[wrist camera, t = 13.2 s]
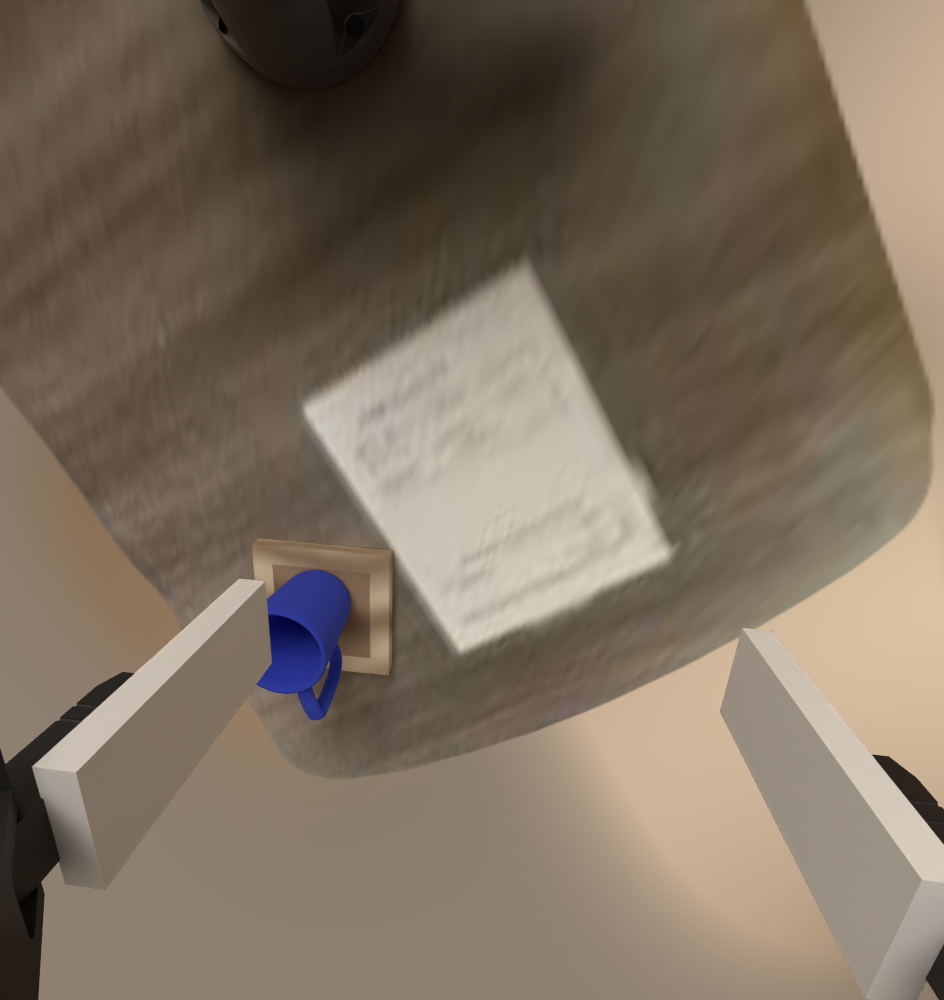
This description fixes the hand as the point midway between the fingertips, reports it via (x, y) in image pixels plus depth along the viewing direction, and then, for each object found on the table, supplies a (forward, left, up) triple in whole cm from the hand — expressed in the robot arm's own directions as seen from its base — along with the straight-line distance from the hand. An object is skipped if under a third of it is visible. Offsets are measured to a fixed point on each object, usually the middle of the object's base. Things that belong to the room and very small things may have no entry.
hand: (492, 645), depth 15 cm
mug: (+21, -17, -33) cm, 43 cm away
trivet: (+21, -18, -35) cm, 44 cm away
